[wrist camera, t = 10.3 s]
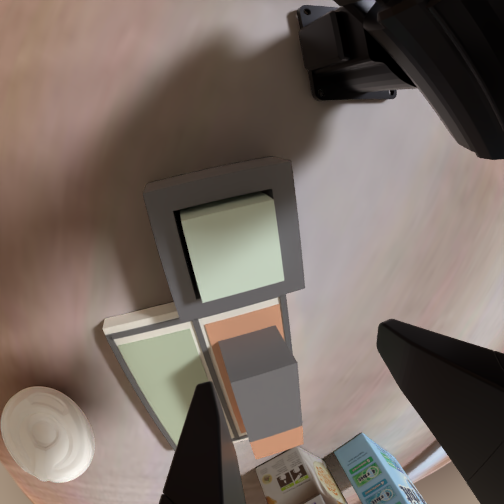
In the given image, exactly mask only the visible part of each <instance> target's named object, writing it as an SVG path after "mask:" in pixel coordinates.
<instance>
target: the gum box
mask: <svg viewBox="0 0 504 504" xmlns="http://www.w3.org/2000/svg"><path fill="white" fill-rule="evenodd" d="M334 454H335V456H336V457H337V459H338V461H339V463H340V465H341V466H342V468H343V470H344V472H345V473H346V475H347V477H348V479H349V481H350V483H351V484H352V486H353V488H354V490H355V491H356V493H357V495H358V497H359V499H360V500H361V502H362V504H426V502H425V501H424V499H423V498H422V496H421V495H420V493H419V492H418V490H417V489H416V488H415V486H414V485H413V483H412V482H411V480H410V479H409V477H408V476H407V474H406V473H405V471H404V470H403V469H402V467H401V466H400V464H399V463H398V461H397V460H396V458H395V457H394V456H392V455H391V454H390V453H388V452H387V451H385V450H384V449H383V448H381V447H380V446H378V445H377V444H376V443H375V442H373V441H372V440H371V439H369V438H368V437H367V436H366V435H365V434H363V433H360V434H359V435H357V436H356V437H354V438H353V439H351V440H350V441H348V442H347V443H345V444H344V445H342V446H341V447H339V448H338V449H336V450H335V451H334Z"/></svg>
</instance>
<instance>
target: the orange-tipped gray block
mask: <svg viewBox="0 0 504 504" xmlns="http://www.w3.org/2000/svg"><path fill="white" fill-rule="evenodd" d="M218 343H219V346H220V350H221V353H222V357H223V360H224V363H225V367H226V370H227V373H228V376H229V380H230V383H231V386H232V389H233V393H234V396H235V399H236V402H237V405H238V408H239V411H240V414H241V417H242V420H243V423H244V426H245V429H246V432H247V435H248V438H249V441H250V444H251V447H252V450H253V452H254V455H255V458H256V459H259V458H263V457H266V456H269V455H272V454H276V453H279V452H282V451H285V450H288V449H291V448H294V447H296V446H299V445H302V444H303V429H302V415H301V402H300V389H299V377H298V365H297V361H296V360H295V358H294V356H293V354H292V353H291V351H290V349H289V348H288V346H287V344H286V343H285V341H284V339H283V337H282V336H281V334H280V332H279V331H278V329H277V327H276V325H274V326H271V327H267V328H264V329H261V330H257V331H254V332H250V333H247V334H243V335H240V336H236V337H233V338H229V339H225V340H221V341H218Z"/></svg>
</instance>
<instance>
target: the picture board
mask: <svg viewBox="0 0 504 504" xmlns="http://www.w3.org/2000/svg"><path fill="white" fill-rule="evenodd" d="M274 325H276V327H277V329H278V331H279V332H280V334H281V336H282V337H283V339H284V341H285V343H286V344H287V346H288V348H289V349H290V351H291V353H292V344H291V334H290V326H289V317H288V308H287V300H286V294H284V295H280V296H277V297H274V298H270V299H267V300H263V301H260V302H256V303H253V304H249V305H246V306H242V307H238V308H235V309H231V310H227V311H224V312H220V313H216V314H212V315H209V316H205V317H201V318H197V319H193V320H189V321H185V322H181V321H180V318H179V315H178V312H177V310H176V307H175V304H174V302H171V303H167V304H163V305H159V306H155V307H151V308H147V309H143V310H139V311H135V312H130V313H126V314H122V315H118V316H114V317H110V318H105V320H104V324H103V331H104V333H105V337H106V339H107V341H108V343H109V345H110V347H111V349H112V350H113V352H114V354H115V356H116V358H117V360H118V362H119V364H120V365H121V367H122V369H123V371H124V373H125V374H126V376H127V378H128V380H129V381H130V383H131V385H132V387H133V388H134V390H135V392H136V393H137V395H138V397H139V398H140V400H141V402H142V403H143V405H144V406H145V408H146V410H147V411H148V413H149V414H150V416H151V417H152V419H153V420H154V422H155V423H156V425H157V426H158V428H159V429H160V431H161V432H162V434H163V435H164V437H165V438H166V439H167V441H168V442H169V444H170V445H171V447H172V448H173V449H174V451H175V450H176V447H177V444H178V441H179V438H180V435H181V431H182V428H183V425H184V422H185V419H186V416H187V413H188V410H189V406H190V403H191V400H192V397H193V394H194V391H195V388H196V385H197V384H200V383H204V382H208V381H212V382H213V384H214V387H215V390H216V392H217V395H218V397H219V400H220V403H221V406H222V409H223V413H224V416H225V419H226V423H227V426H228V429H229V432H230V435H231V438H232V442H233V443H236V442H240V441H243V440H247V439H249V438H248V435H247V432H246V429H245V426H244V423H243V420H242V417H241V414H240V411H239V408H238V405H237V402H236V399H235V396H234V393H233V389H232V386H231V383H230V380H229V376H228V373H227V370H226V367H225V363H224V360H223V357H222V353H221V350H220V346H219V343H218V341H221V340H225V339H229V338H233V337H236V336H240V335H243V334H247V333H250V332H254V331H257V330H261V329H264V328H267V327H271V326H274ZM292 354H293V353H292Z"/></svg>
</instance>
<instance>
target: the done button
mask: <svg viewBox="0 0 504 504" xmlns="http://www.w3.org/2000/svg"><path fill="white" fill-rule="evenodd" d="M179 211H180V217H181V222H182V227H183V231H184V235H185V239H186V243H187V247H188V251H189V254H190V258H191V262H192V266H193V270H194V273H195V277H196V281H197V285H198V288H199V292H200V295H201V299H202V303H205V302H208V301H212V300H216V299H220V298H223V297H227V296H231V295H235V294H238V293H242V292H246V291H249V290H253V289H257V288H260V287H264V286H267V285H271V284H274V283H278V282H281V281H284V273H283V265H282V257H281V249H280V242H279V234H278V227H277V219H276V212H275V205H274V199H272V198H271V197H269V196H267V195H266V194H264V193H263V192H261V191H258V192H253V193H248V194H244V195H239V196H235V197H230V198H226V199H221V200H217V201H213V202H208V203H204V204H200V205H196V206H192V207H188V208H184V209H180V210H179Z"/></svg>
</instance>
